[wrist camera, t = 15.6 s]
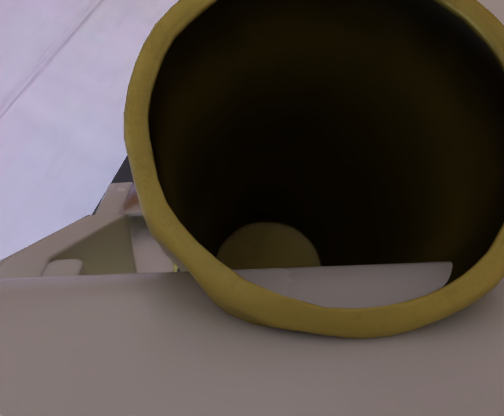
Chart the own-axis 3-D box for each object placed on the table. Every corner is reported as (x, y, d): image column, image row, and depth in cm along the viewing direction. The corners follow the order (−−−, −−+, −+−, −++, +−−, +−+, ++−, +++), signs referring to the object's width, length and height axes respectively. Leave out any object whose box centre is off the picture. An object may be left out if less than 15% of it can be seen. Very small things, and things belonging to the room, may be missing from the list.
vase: (179, 221, 20) (52, -48, 6) (319, 191, 20) (488, -116, 7) (208, 371, 18) (128, 453, 5) (359, 334, 19) (687, 308, 5)
